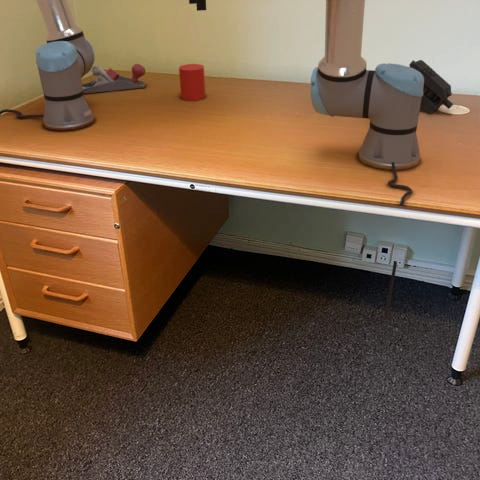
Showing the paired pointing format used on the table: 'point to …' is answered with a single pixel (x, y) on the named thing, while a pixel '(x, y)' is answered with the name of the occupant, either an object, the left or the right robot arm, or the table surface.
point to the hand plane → (114, 80)
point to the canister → (192, 81)
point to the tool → (432, 88)
